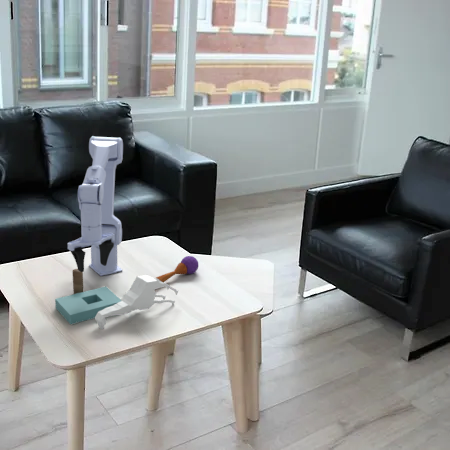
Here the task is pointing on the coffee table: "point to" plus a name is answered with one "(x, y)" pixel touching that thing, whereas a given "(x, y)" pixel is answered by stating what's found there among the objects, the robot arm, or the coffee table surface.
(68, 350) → the coffee table surface
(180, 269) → the purple ball maraca
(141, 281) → the horse figurine
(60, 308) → the socket board
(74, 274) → the peg
